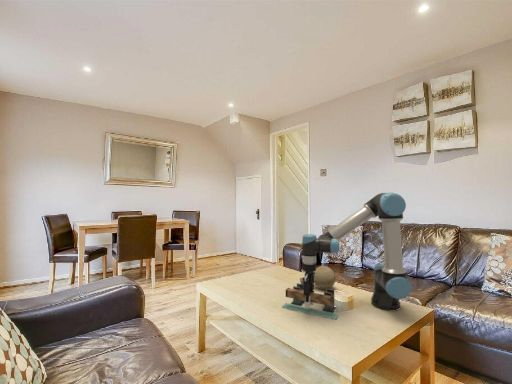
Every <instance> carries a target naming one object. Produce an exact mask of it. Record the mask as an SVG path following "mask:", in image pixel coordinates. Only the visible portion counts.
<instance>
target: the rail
mask: <svg viewBox="0 0 512 384" xmlns="http://www.w3.org/2000/svg"><path fill="white" fill-rule="evenodd" d="M303 294H304V291H302V290H296V289H293V288H291V287H288V288H286V289H285V298H289V299H292V300H293V299H298V300H303V301H305V295H303ZM310 302H312V303H313V304H316V305H317V304H318V305H322V306H324V305H327V306H331V307H332V306H333V305H334V306H335V296H334V297H333V296H328V295H324V293H323V294H322V293H317V292H314V293H312V292H310Z"/></svg>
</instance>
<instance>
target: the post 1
mask: <svg viewBox="0 0 512 384" xmlns="http://www.w3.org/2000/svg"><path fill="white" fill-rule="evenodd" d="M292 289H296V290H302V291H304V284H301V283H299V282H297V283H296V286H295V285H293V287H292ZM290 304H294V305H298V306H303V305H305V301H303V300H298V299H293V298H292V302H291V303H290Z"/></svg>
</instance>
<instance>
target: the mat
mask: <svg viewBox="0 0 512 384" xmlns="http://www.w3.org/2000/svg"><path fill="white" fill-rule="evenodd" d="M282 308H283V309H286V308H287V310H291V311H296V312H300V313H305V314H309V315H313V316H318V317H323V318H328V319H332V320H337V318H338V317H339V314H338V313H335V312H334V313H331V312H326V311H322V309H316V308H312V307H310V308H307V307H305V306H303V305H302V306H298V305H294V304H291V303H288V302H285V303H284V304H283V305H282V306H281V309H282Z"/></svg>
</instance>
